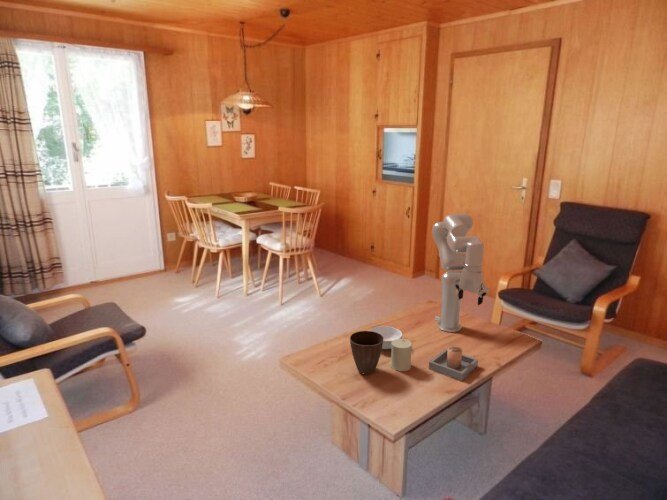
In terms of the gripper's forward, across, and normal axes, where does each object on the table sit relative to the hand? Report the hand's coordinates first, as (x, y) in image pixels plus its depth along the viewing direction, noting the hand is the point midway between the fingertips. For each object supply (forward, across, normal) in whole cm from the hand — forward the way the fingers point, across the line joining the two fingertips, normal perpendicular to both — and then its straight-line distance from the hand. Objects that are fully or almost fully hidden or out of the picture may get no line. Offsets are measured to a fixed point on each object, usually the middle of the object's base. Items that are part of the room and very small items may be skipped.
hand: (470, 301), depth 214 cm
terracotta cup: (+24, +4, -20) cm, 31 cm away
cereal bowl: (+26, -32, -24) cm, 47 cm away
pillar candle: (+25, -14, -35) cm, 45 cm away
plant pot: (+25, -24, -48) cm, 59 cm away
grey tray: (+25, +4, -20) cm, 32 cm away
